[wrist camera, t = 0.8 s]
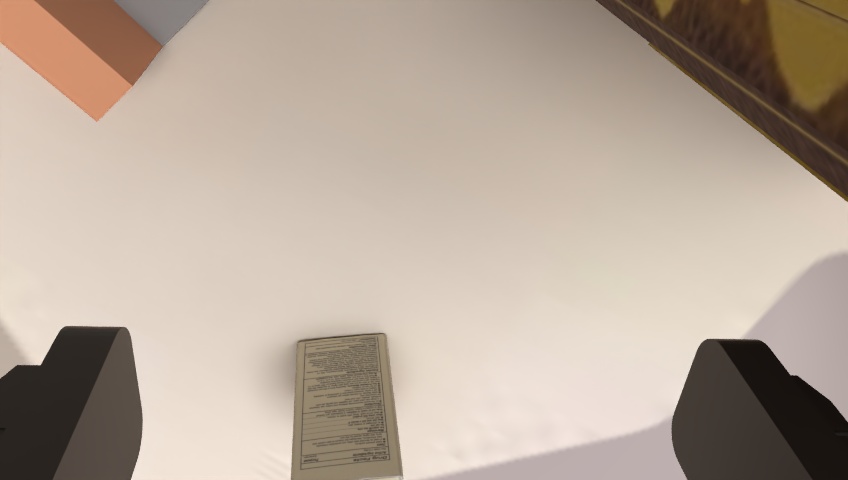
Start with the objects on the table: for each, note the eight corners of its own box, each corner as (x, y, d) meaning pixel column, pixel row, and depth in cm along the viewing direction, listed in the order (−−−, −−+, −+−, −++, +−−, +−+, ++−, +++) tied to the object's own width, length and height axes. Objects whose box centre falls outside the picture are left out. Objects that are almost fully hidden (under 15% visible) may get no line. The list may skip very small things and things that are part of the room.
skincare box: (304, 397, 42) (293, 550, 33) (296, 338, 39) (282, 486, 31) (393, 390, 42) (406, 540, 34) (390, 332, 40) (403, 476, 31)
